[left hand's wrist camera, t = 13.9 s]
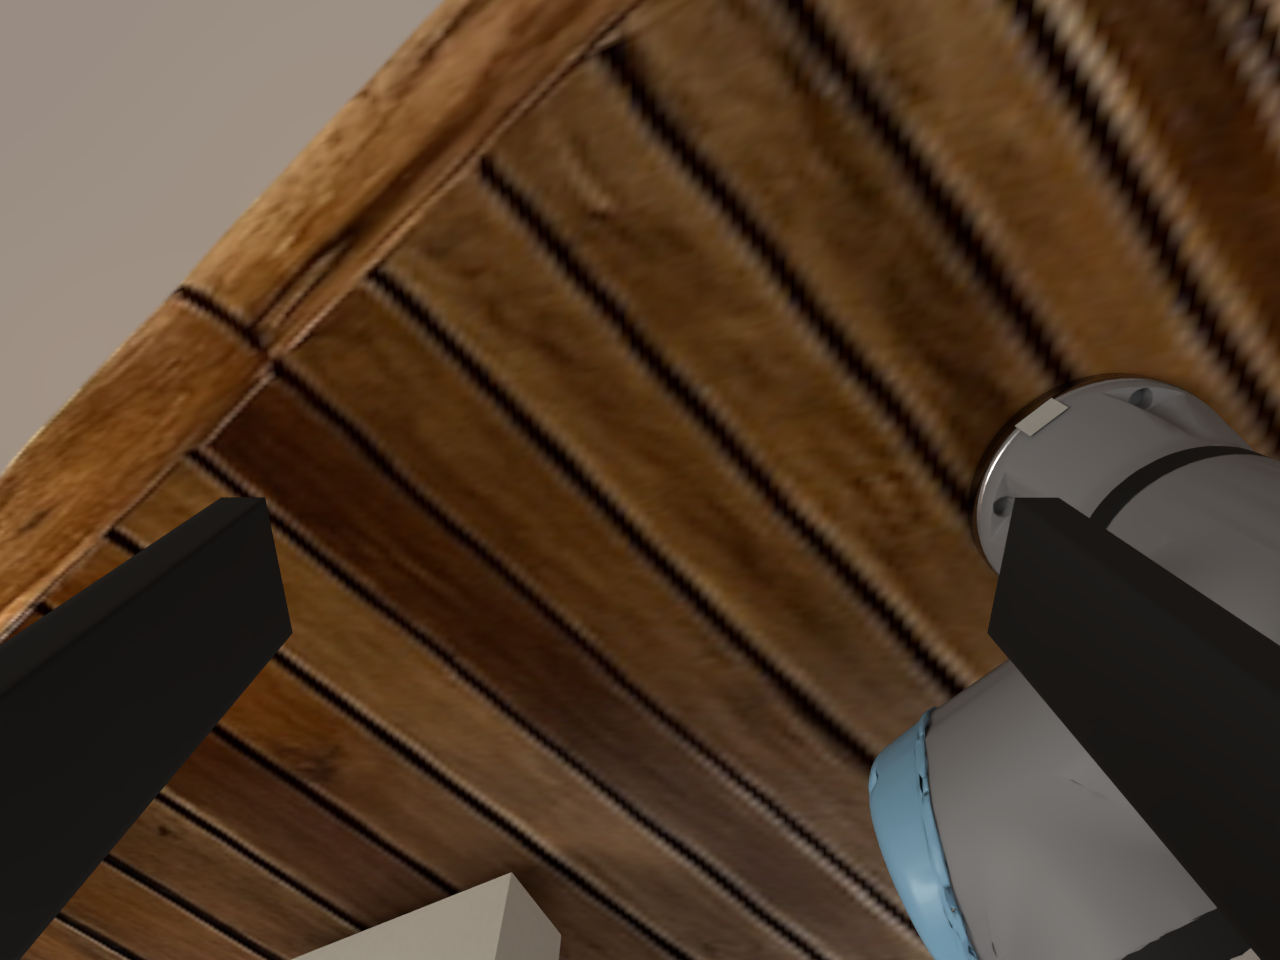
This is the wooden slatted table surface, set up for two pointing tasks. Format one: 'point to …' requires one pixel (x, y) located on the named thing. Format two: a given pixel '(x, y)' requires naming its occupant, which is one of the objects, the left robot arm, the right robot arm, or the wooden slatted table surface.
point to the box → (458, 930)
